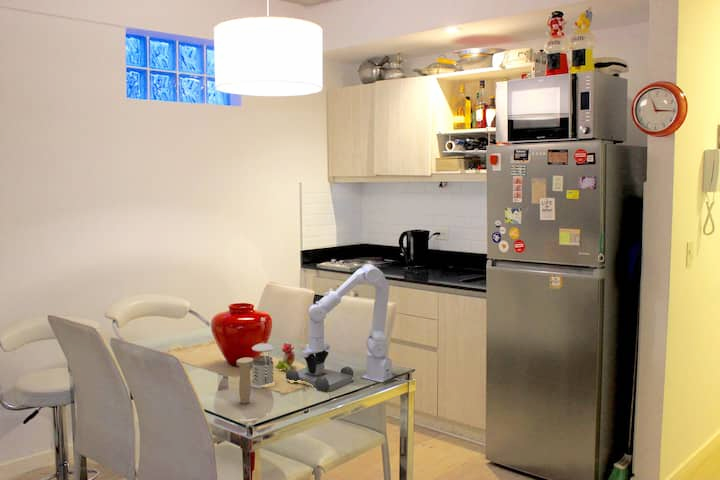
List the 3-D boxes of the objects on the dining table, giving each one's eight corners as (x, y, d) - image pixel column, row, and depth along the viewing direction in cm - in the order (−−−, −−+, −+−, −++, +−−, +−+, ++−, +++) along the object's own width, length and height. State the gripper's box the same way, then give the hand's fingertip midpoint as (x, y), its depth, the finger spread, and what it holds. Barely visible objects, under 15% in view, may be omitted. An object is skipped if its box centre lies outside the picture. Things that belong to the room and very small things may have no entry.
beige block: (323, 375, 269) (323, 362, 268) (317, 378, 266) (317, 365, 265) (313, 373, 272) (313, 360, 271) (306, 375, 269) (306, 362, 268)
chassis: (354, 380, 269) (354, 368, 268) (326, 392, 255) (327, 379, 254) (313, 370, 280) (313, 358, 280) (284, 381, 266) (284, 368, 266)
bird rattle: (282, 372, 284) (272, 369, 276) (287, 344, 287) (278, 341, 279) (296, 374, 282) (286, 371, 274) (301, 346, 285) (292, 342, 277)
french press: (271, 378, 270) (271, 314, 267) (281, 387, 259) (281, 321, 256) (246, 381, 266) (246, 316, 263) (255, 390, 255) (255, 323, 252)
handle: (256, 400, 245) (256, 358, 243) (245, 406, 239) (245, 363, 238) (244, 398, 247) (244, 356, 245) (233, 404, 241) (233, 361, 240)
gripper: (319, 331, 275) (319, 365, 277) (295, 338, 263) (295, 374, 265) (334, 334, 271) (333, 368, 273) (310, 341, 259) (310, 377, 261)
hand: (315, 371), depth 268 cm, fingers closed on beige block, 4 cm apart
